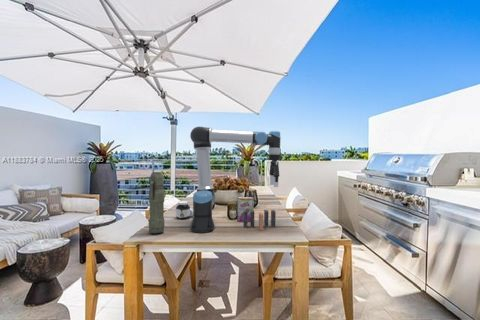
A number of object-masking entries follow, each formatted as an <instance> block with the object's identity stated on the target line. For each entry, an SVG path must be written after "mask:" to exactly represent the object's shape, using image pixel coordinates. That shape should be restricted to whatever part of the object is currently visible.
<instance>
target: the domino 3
mask: <svg viewBox="0 0 480 320" xmlns="http://www.w3.org/2000/svg"><path fill="white" fill-rule="evenodd" d="M258 229H259V230H258V231H260V232H264V212H258Z"/></svg>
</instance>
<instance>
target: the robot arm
mask: <svg viewBox="0 0 480 320" xmlns="http://www.w3.org/2000/svg"><path fill="white" fill-rule="evenodd" d="M189 138H190V140H191V142H192V143H193V149H194V150H195V151H196V166H197V167H196V168H197V179H198V187H197V188H196V191H195V192H194V193H193V194H192V195H193V197H192V209H193V217H192V219H191V222H190V226H189V231H190V232H192V233H197V234H205V233H209V232H213V231H214V230H215V229H216V227H215V222H214V219H213V206H214V204H215V203H216V199H217V198H216V194H215V187H214V186H213V185H212V172H211V158H210V157H211V156H210V150H211V148H212V143H232V144H251V145H252V146H268V161H270V165H269V166H270V167H269V185H270V186H273V187H274V188H279V177H280V169H279V168H280V166H279V161H280V160H281V155H280V154H281V151H282V150H281V138H282V137H281V132H280V131H278V130H270V131H269V133H266V132H265V131H263V130H261V131H260V130H259V131H250V130H249V131H248V130H229V129H226V130H225V129H214V128H213V127H204V126H196V127H194V128H193V129H191V132H190V135H189Z"/></svg>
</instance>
